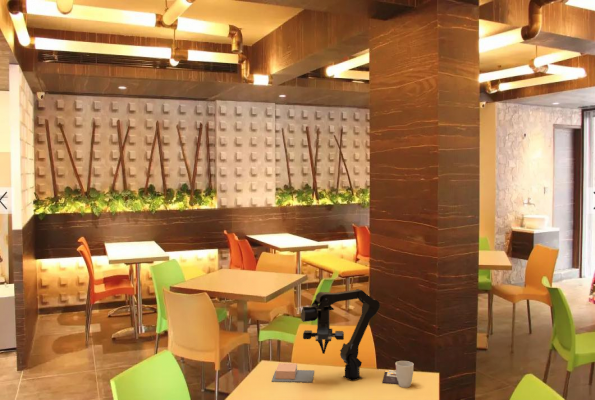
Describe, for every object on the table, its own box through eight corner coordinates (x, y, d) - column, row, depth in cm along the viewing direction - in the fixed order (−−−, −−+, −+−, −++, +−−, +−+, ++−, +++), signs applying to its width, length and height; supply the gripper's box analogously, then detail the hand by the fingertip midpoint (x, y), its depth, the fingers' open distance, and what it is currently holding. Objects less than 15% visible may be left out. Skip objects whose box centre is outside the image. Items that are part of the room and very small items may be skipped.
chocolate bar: (382, 382, 250) (385, 369, 267) (382, 384, 250) (385, 371, 267) (402, 383, 248) (403, 371, 265) (402, 385, 248) (403, 373, 265)
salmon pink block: (297, 363, 266) (278, 363, 267) (294, 371, 254) (275, 371, 255) (297, 371, 266) (278, 370, 267) (294, 379, 254) (275, 379, 255)
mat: (314, 371, 267) (314, 370, 267) (312, 382, 251) (312, 381, 251) (275, 370, 269) (275, 369, 269) (271, 381, 253) (271, 380, 253)
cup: (402, 381, 252) (402, 359, 252) (417, 385, 246) (417, 363, 246) (391, 385, 247) (391, 363, 247) (407, 390, 241) (406, 367, 241)
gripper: (302, 323, 245) (302, 358, 246) (343, 324, 244) (343, 359, 244) (303, 318, 256) (304, 351, 257) (343, 318, 255) (343, 352, 255)
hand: (323, 353), depth 253 cm, fingers closed
